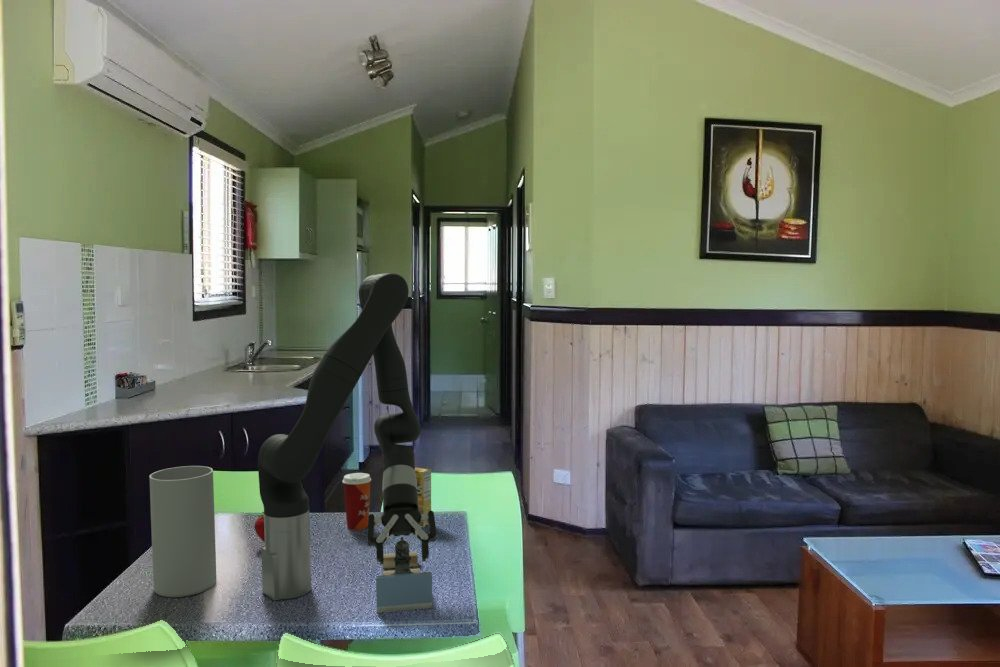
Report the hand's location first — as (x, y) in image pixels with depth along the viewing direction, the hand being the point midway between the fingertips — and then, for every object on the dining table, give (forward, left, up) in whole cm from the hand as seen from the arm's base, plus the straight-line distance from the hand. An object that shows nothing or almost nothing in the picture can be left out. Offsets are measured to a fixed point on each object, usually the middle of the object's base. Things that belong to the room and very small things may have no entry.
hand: (403, 561), depth 148 cm
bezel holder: (+1, +1, -9) cm, 9 cm away
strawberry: (-7, +51, -9) cm, 52 cm away
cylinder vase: (-31, +38, -9) cm, 50 cm away
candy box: (+30, +41, -9) cm, 51 cm away
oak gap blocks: (+8, +13, -9) cm, 18 cm away
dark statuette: (+1, +1, -8) cm, 8 cm away
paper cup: (+17, +49, -9) cm, 53 cm away
